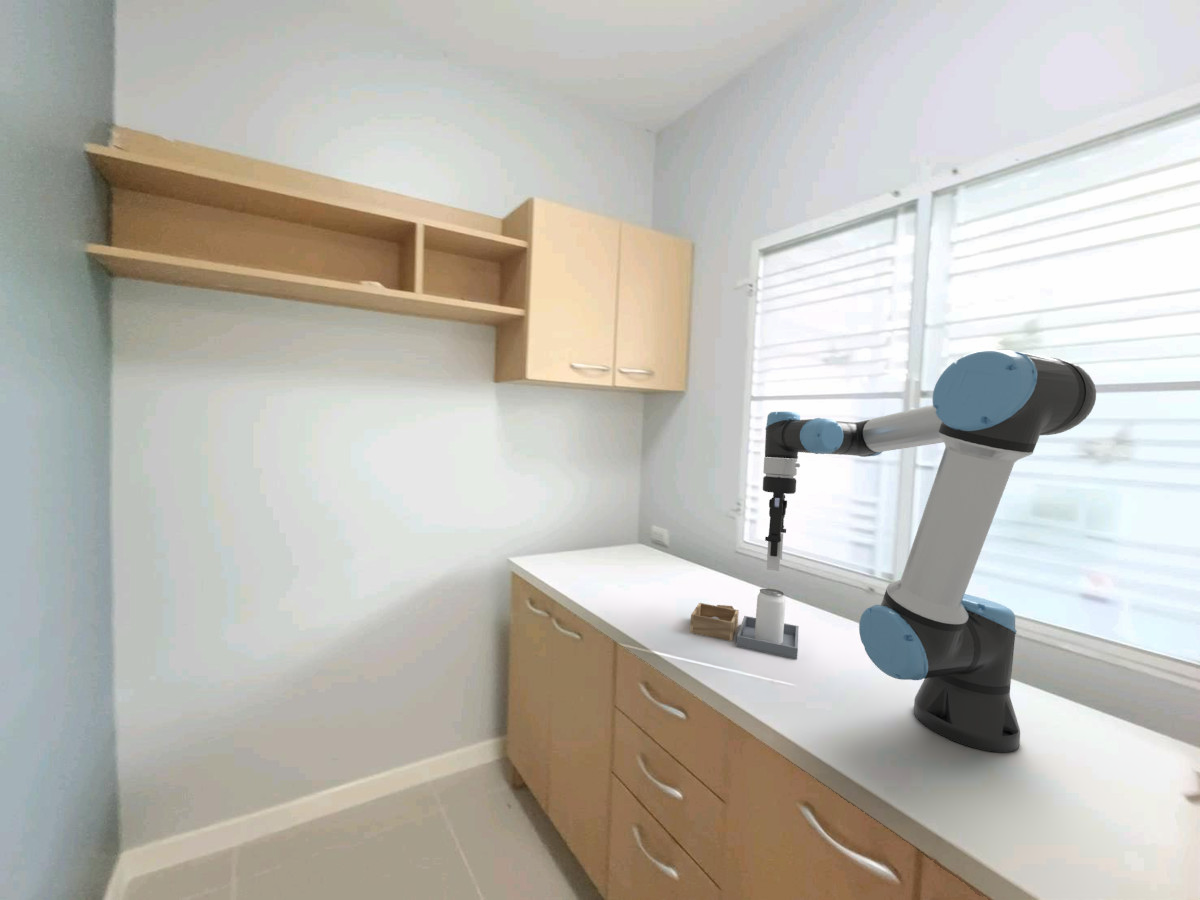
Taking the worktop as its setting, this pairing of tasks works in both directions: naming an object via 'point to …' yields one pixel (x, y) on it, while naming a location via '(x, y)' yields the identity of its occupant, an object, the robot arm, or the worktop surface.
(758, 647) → the grey tray
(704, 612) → the oak bin
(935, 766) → the worktop surface
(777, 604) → the can
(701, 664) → the worktop surface
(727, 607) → the walnut block
